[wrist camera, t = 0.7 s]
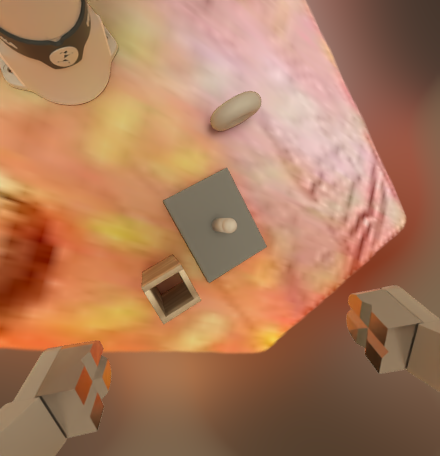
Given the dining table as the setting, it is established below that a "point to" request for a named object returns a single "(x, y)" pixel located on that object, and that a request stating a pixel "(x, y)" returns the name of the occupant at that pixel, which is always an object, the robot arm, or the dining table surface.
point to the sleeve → (172, 299)
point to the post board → (200, 224)
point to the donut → (235, 110)
